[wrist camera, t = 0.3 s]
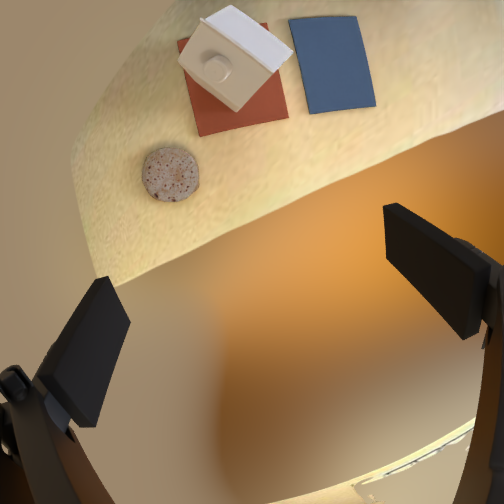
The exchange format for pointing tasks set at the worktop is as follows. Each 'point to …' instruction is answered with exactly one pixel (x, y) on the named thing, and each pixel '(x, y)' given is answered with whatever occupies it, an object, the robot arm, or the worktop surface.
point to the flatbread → (170, 174)
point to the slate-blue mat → (332, 63)
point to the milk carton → (232, 56)
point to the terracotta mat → (222, 117)
